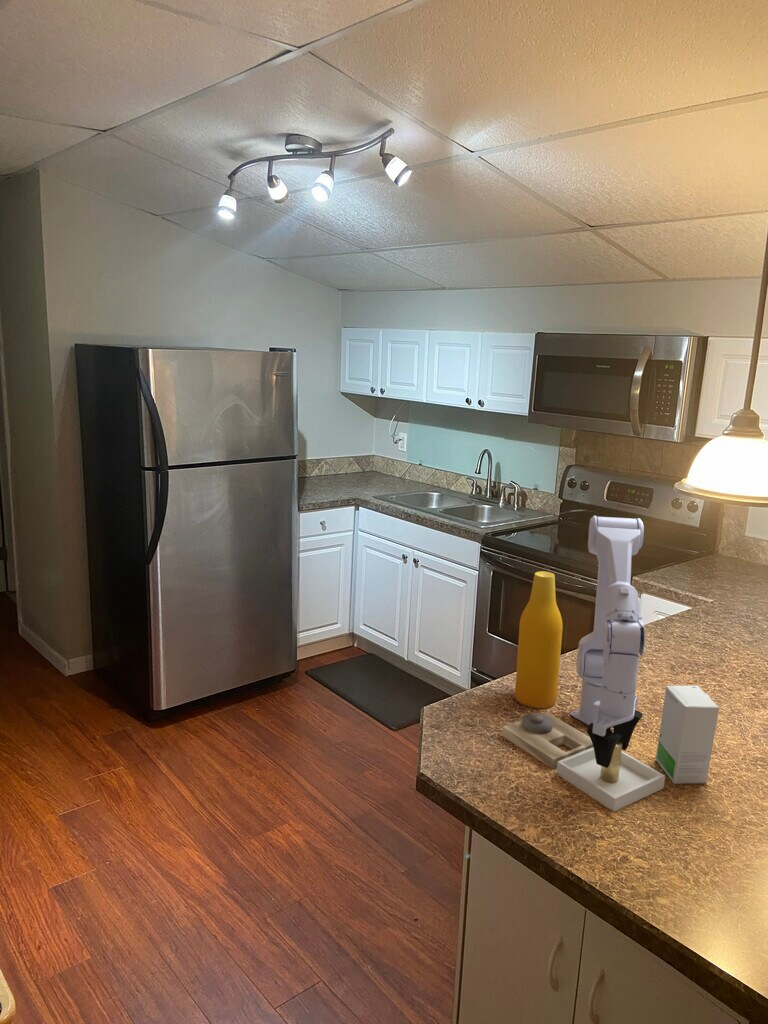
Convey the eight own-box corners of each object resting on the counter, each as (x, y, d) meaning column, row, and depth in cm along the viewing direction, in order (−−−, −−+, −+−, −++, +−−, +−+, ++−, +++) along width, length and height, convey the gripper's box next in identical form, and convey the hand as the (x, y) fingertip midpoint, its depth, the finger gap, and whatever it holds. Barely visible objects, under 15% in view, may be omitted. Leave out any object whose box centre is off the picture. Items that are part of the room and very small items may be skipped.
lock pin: (604, 771, 137) (608, 736, 135) (621, 778, 134) (625, 742, 133) (597, 778, 134) (600, 743, 133) (613, 785, 132) (617, 749, 131)
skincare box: (654, 759, 142) (663, 684, 138) (688, 759, 142) (697, 683, 139) (674, 785, 134) (684, 705, 130) (710, 784, 134) (720, 705, 130)
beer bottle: (529, 712, 159) (538, 582, 152) (506, 693, 167) (514, 570, 161) (565, 705, 162) (576, 578, 156) (541, 687, 171) (550, 566, 164)
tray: (605, 753, 143) (606, 742, 143) (663, 788, 133) (665, 775, 132) (556, 773, 136) (557, 761, 136) (613, 811, 125) (615, 798, 125)
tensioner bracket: (545, 720, 156) (546, 702, 155) (597, 751, 144) (599, 732, 143) (502, 735, 149) (503, 717, 148) (553, 769, 138) (554, 749, 137)
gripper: (613, 666, 138) (607, 733, 141) (578, 693, 127) (572, 764, 130) (651, 678, 134) (643, 746, 137) (618, 706, 123) (611, 780, 126)
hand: (611, 756), depth 133 cm, fingers open, 7 cm apart
